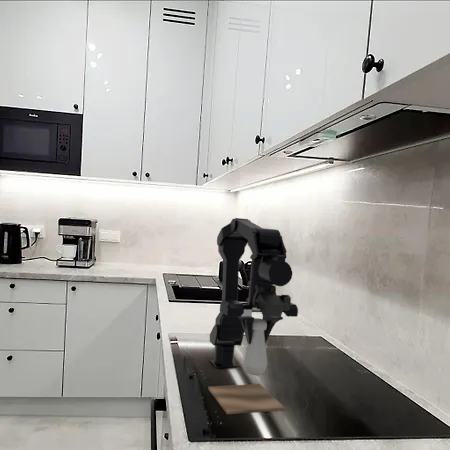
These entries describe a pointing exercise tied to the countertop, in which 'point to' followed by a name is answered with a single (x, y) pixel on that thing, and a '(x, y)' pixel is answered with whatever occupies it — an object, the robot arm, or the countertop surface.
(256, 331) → the salt shaker
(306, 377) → the countertop surface
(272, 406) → the walnut board
